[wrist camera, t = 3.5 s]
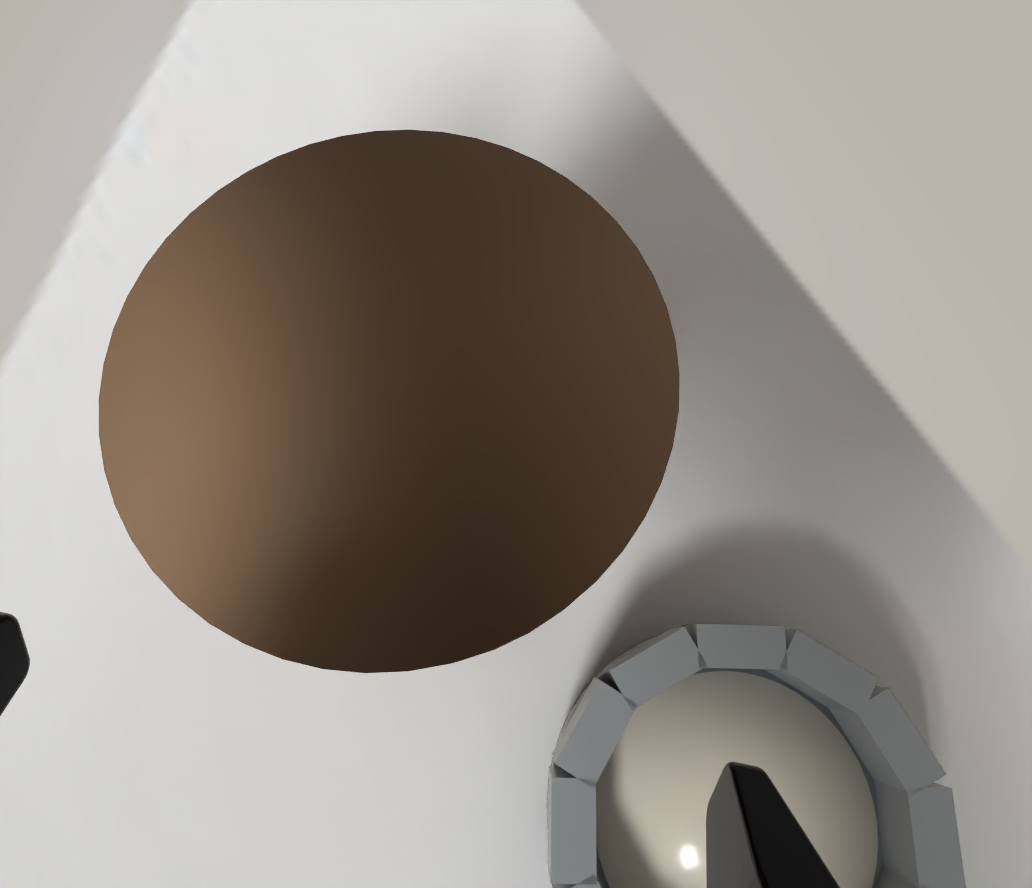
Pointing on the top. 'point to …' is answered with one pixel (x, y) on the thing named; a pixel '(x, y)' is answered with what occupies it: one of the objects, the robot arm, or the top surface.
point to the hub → (749, 740)
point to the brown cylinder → (389, 401)
